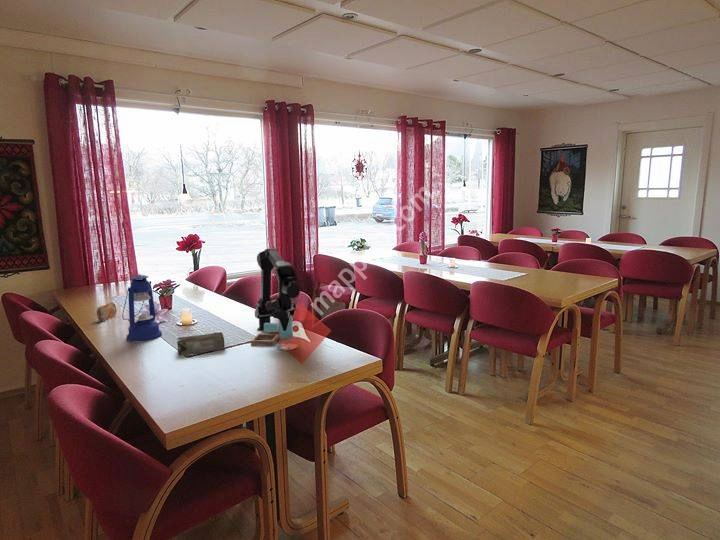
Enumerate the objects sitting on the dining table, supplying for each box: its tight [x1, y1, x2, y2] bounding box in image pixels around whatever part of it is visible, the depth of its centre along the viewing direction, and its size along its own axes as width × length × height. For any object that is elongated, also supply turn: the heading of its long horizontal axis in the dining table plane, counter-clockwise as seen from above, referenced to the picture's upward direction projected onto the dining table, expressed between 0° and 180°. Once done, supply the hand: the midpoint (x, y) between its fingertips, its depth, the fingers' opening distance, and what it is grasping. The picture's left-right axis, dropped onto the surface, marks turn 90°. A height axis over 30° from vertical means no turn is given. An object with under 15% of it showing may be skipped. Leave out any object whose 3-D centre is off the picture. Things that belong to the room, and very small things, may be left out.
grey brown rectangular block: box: [176, 331, 225, 356], centre depth 199 cm, size 8×19×7 cm, turn 112°
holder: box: [250, 333, 280, 346], centre depth 209 cm, size 10×10×2 cm
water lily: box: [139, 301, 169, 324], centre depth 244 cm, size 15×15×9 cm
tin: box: [96, 302, 117, 322], centre depth 250 cm, size 15×3×8 cm, turn 179°
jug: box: [263, 315, 294, 340], centre depth 200 cm, size 12×6×10 cm, turn 88°
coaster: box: [276, 342, 291, 351], centre depth 201 cm, size 9×9×1 cm
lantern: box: [122, 274, 162, 342], centre depth 216 cm, size 17×15×30 cm
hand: (286, 328), depth 200 cm, fingers closed on jug, 6 cm apart
